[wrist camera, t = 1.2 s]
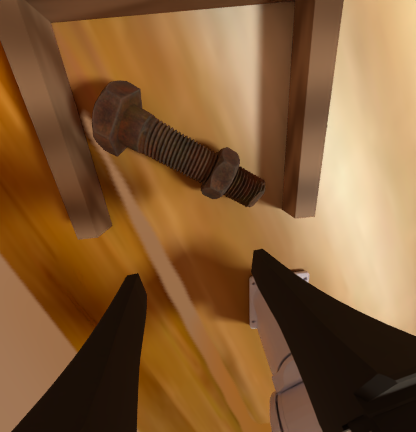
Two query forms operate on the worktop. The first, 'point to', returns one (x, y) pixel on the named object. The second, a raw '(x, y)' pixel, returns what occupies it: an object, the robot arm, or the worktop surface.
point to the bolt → (169, 145)
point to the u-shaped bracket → (148, 4)
